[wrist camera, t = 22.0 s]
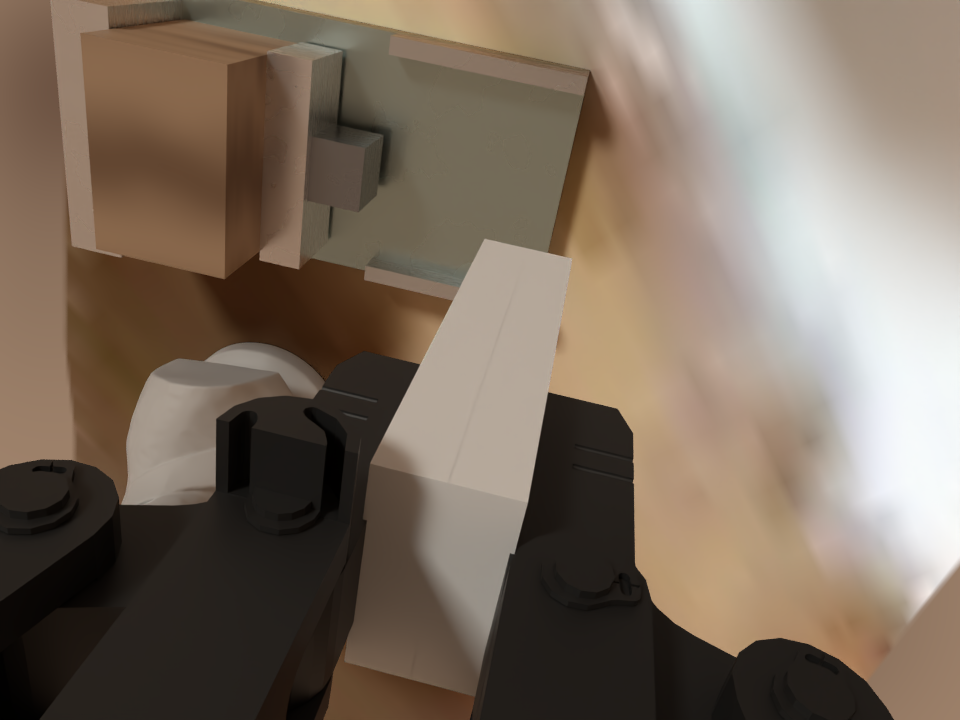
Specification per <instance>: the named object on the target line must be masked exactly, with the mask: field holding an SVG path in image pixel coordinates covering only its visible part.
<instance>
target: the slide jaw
mask: <svg viewBox="0 0 960 720" xmlns="http://www.w3.org/2000/svg"><path fill="white" fill-rule="evenodd" d="M342 56H343V51H341V50H336V49H332V48H327V47H322V46H318V45H313V44H308V43H303V42H301V43H297V44H293V45H289V46H285V47H281V48H277V49H273V50H269V51H267V68H266V95H265V123H264V150H263V177H262V204H261V231H260V259H259V260H261V261H265V262H269V263H273V264H278V265H282V266H286V267H291V268H295V269H300V268H301V267H302V266H303V265H304V264H305V263H306V262H307V261H308V260H310V259H311V258H312V257H313V256H314V255H315V254H316V253H317V252H318V251H319V250H320V249H321V248H322V247H323V246H324V245H325V244H326V243H327V240H328V228H329V215H330V206H332V207H337V208H341V209H345V210H350V211H354V212H360V211H361V210H362V209H363V208H364V207H365V206H366V205H367V204H368V203H369V202H370V201H371V200H372V199H373V198H375V197H376V196H377V190H378V181H379V172H380V163H381V154H382V145H383V136H384V135H381V134H377V133H372V132H368V131H363V130H359V129H354V128H349V127H345V126H340V125H337V117H338V105H339V93H340V81H341V68H342Z"/></svg>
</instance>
